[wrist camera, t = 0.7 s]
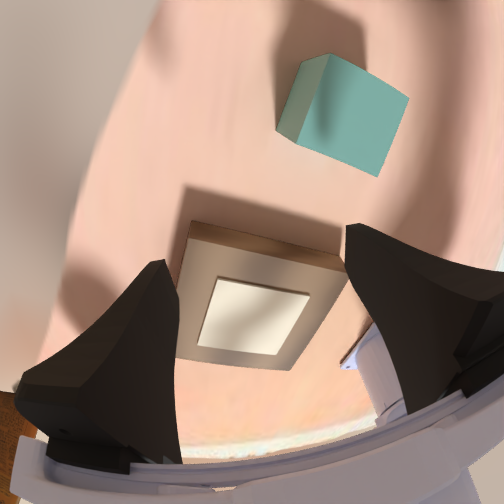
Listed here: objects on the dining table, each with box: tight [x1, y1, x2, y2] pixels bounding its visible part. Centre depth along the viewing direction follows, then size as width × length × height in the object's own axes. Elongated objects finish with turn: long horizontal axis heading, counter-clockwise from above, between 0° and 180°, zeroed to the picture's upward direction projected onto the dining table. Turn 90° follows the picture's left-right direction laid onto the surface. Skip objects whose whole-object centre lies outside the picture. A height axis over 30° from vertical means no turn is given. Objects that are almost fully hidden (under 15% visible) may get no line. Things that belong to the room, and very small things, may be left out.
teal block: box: [276, 53, 409, 177], centre depth 14 cm, size 5×5×5 cm
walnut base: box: [175, 221, 349, 371], centre depth 23 cm, size 12×12×3 cm
